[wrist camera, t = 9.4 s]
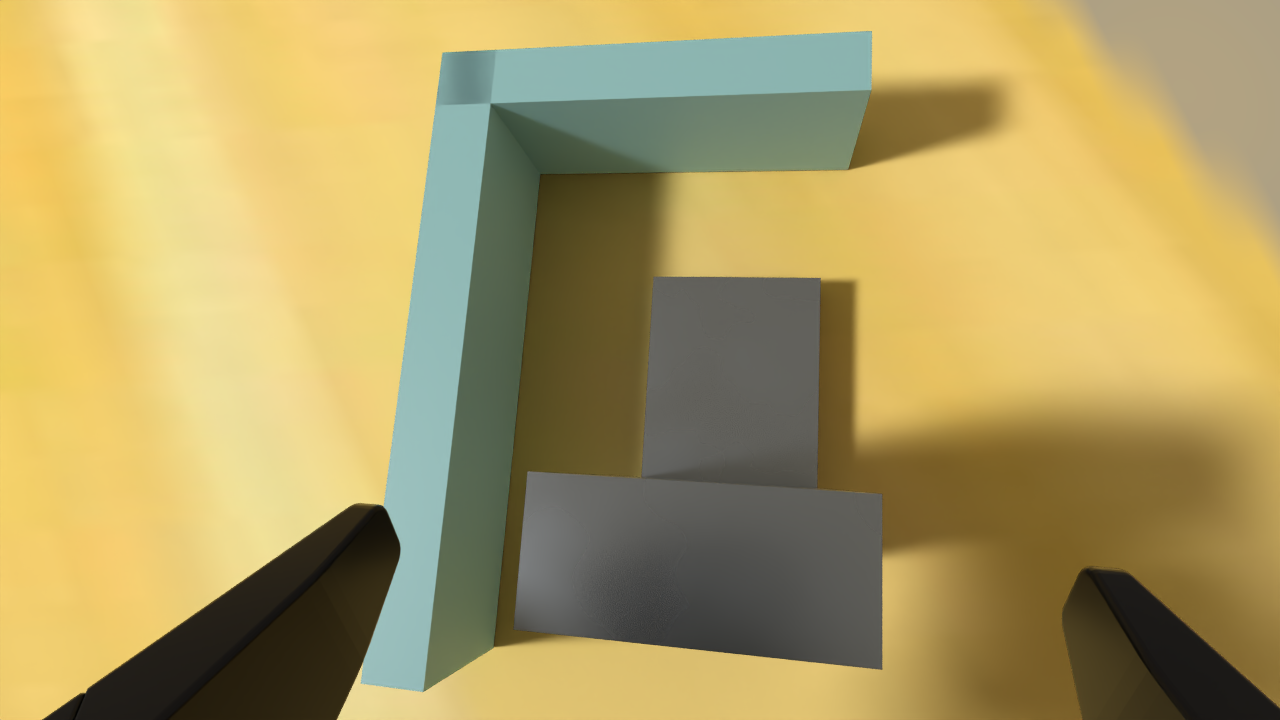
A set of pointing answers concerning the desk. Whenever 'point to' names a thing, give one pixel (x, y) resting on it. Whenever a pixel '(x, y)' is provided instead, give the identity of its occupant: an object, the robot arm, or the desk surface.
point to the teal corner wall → (501, 265)
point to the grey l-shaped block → (715, 498)
